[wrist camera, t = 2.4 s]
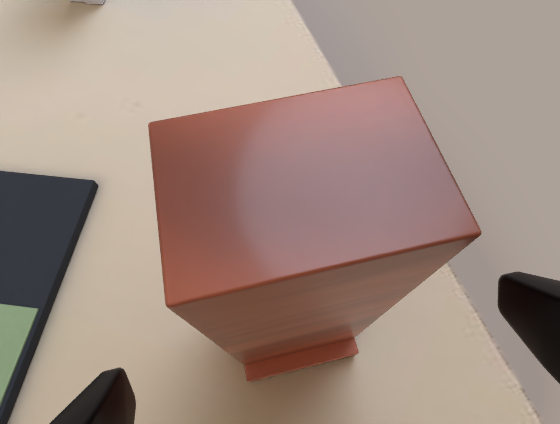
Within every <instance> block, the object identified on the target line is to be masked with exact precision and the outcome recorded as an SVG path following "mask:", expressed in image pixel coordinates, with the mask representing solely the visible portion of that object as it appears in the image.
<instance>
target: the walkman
mask: <svg viewBox="0 0 560 424" xmlns="http://www.w3.org/2000/svg"><path fill="white" fill-rule="evenodd" d="M70 1H78V2H85V3H86V4H103V3H104V1H105V0H70Z"/></svg>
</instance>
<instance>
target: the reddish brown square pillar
mask: <svg viewBox="0 0 560 424" xmlns="http://www.w3.org/2000/svg"><path fill="white" fill-rule="evenodd" d="M148 128H149V139H150V149H151V159H152V170H153V180H154V190H155V200H156V211H157V221H158V231H159V242H160V252H161V262H162V273H163V283H164V293H165V303H166V306H167V307H168V308H169V309H170V310H172V311H173V312H174V313H176V314H177V315H178V316H180V317H181V318H182V319H184V320H185V321H186V322H188V323H189V324H190V325H192V326H193V327H194V328H196V329H197V330H198V331H200V332H201V333H202V334H204V335H205V336H206V337H208V338H209V339H210V340H212V341H213V342H214V343H216V344H217V345H218V346H220V347H221V348H222V349H224V350H225V351H226V352H228V353H229V354H231V355H232V356H233V357H235V358H236V359H237V360H239V361H240V362H241V363H243V364H244V366H245V372H246V377H247V381H248V382H252V381H256V380H260V379H264V378H268V377H272V376H276V375H280V374H284V373H288V372H292V371H296V370H299V369H303V368H307V367H311V366H315V365H319V364H323V363H327V362H331V361H335V360H339V359H343V358H347V357H350V356H354V355H356V354H358V353H359V352H358V349H357V345H356V342H355V339H354V337H355V336H357V335H358V334H359V333H360V332H362V331H363V330H364V329H365V328H367V327H368V326H369V325H370V324H372V323H373V322H374V321H375V320H376V319H378V318H379V317H380V316H381V315H383V314H384V313H385V312H386V311H388V310H389V309H390V308H391V307H392V306H394V305H395V304H396V303H397V302H399V301H400V300H401V299H402V298H404V297H405V296H406V295H407V294H408V293H410V292H411V291H412V290H413V289H415V288H416V287H417V286H418V285H420V284H421V283H422V282H423V281H424V280H426V279H427V278H428V277H429V276H431V275H432V274H433V273H434V272H436V271H437V270H438V269H439V268H441V267H442V266H443V265H444V264H445V263H447V262H448V261H449V260H450V259H452V258H453V257H454V256H455V255H457V254H458V253H459V252H460V251H461V250H462V249H464V248H465V247H466V246H468V245H469V244H470V243H471V242H473V241H474V240H475V239H476V238H477V237H479V236H480V235H481V230H480V228H479V226H478V224H477V222H476V220H475V218H474V216H473V214H472V212H471V210H470V208H469V206H468V204H467V202H466V201H465V199H464V197H463V195H462V193H461V191H460V189H459V187H458V185H457V183H456V181H455V179H454V177H453V175H452V173H451V171H450V170H449V167H448V165H447V163H446V162H445V160H444V158H443V156H442V154H441V152H440V150H439V148H438V146H437V144H436V142H435V140H434V138H433V136H432V134H431V132H430V130H429V128H428V126H427V125H426V123H425V121H424V119H423V117H422V115H421V113H420V111H419V109H418V107H417V105H416V103H415V101H414V99H413V97H412V95H411V93H410V91H409V90H408V88H407V86H406V84H405V82H404V80H403V78H402V77H401V76H398V77H392V78H387V79H381V80H376V81H371V82H366V83H360V84H354V85H349V86H344V87H338V88H333V89H327V90H322V91H317V92H311V93H306V94H300V95H295V96H290V97H284V98H279V99H273V100H268V101H263V102H257V103H252V104H246V105H241V106H236V107H230V108H225V109H220V110H214V111H209V112H203V113H198V114H193V115H187V116H182V117H176V118H171V119H166V120H160V121H155V122H150V123H149V125H148Z"/></svg>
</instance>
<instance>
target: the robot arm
mask: <svg viewBox="0 0 560 424" xmlns="http://www.w3.org/2000/svg"><path fill="white" fill-rule="evenodd" d="M498 308H499V311H500V313H501V314H502V316H503V317H504V318H505V320H506V321H507V322H508V323H509V325H510V326H511V327H512V328H513V329H514V331H515V332H516V333H517V334H518V336H519V337H520V338H521V339H522V341H523V342H524V343H525V344H526V346H527V347H528V348H529V349H530V351H531V352H532V353H533V354H534V356H535V357H536V358H537V359H538V361H539V362H540V363H541V364H542V365H543V367H544V368H545V369H546V370H547V371H548V372H549V373H550V374H551V375H552V376H553V377H554V378H555V380H557V382H558V383H559V384H560V281H557V280H553V279H548V278H544V277H540V276H535V275H531V274H526V273H522V272H513V273H509V274H504V275H502V276H501V277H500V278H499V281H498ZM135 409H136V400H135V395H134V393H133V390H132V387H131V385H130V382H129V380H128V377H127V375H126V372H125V371H124V369H122V368H116V369H111V370H107V371H104V372H102V373H101V374H100V375H99V376H98V377H97V378H96V379H95V380H94V381H93V382H92V383H91V384H90V385H88V386H87V387H86V388H85V389H84V390H83V391H82V392H81V393H80V394H79V395H78V396H77V397H76V398H75V399H74V400H73V401H72V402H71V403H70V404H69V405H68V406H67V407H66V408H65V409H64V410H63V411H62V412H61V413H60V414H59V415H58V416H57V417H56V418H55V419H54V420H53V421H52V422H51V423H50V424H134V419H135Z"/></svg>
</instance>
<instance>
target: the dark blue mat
mask: <svg viewBox="0 0 560 424" xmlns="http://www.w3.org/2000/svg"><path fill="white" fill-rule="evenodd" d="M97 188H98V185H97V183H96V182H95V181H93V180H84V179H74V178H64V177H55V176H45V175H35V174H25V173H15V172H5V171H0V424H7V421H8V419H9V416H10V414H11V411H12V408H13V406H14V403H15V401H16V398H17V395H18V393H19V390H20V388H21V385H22V382H23V380H24V377H25V375H26V372H27V369H28V367H29V364H30V362H31V359H32V356H33V354H34V351H35V349H36V346H37V343H38V341H39V338H40V336H41V333H42V330H43V328H44V325H45V323H46V320H47V318H48V315H49V312H50V310H51V307H52V305H53V302H54V299H55V297H56V294H57V292H58V289H59V286H60V284H61V281H62V279H63V276H64V273H65V271H66V268H67V266H68V263H69V260H70V258H71V255H72V253H73V250H74V247H75V245H76V242H77V240H78V237H79V234H80V232H81V229H82V227H83V224H84V222H85V219H86V216H87V214H88V211H89V209H90V206H91V203H92V201H93V198H94V196H95V193H96V190H97Z"/></svg>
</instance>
